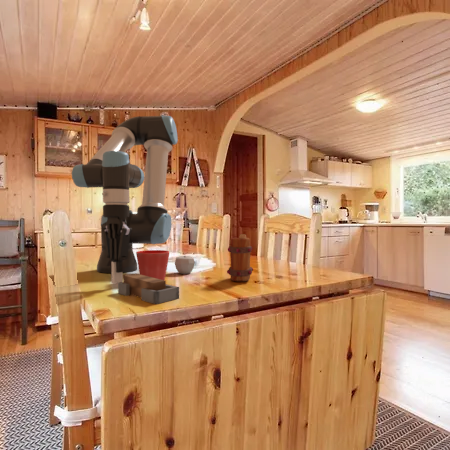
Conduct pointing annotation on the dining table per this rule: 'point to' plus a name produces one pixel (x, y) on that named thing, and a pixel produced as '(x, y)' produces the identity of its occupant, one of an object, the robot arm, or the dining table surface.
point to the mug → (240, 259)
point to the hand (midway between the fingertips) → (117, 282)
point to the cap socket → (160, 294)
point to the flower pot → (153, 263)
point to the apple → (184, 264)
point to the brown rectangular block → (143, 283)
